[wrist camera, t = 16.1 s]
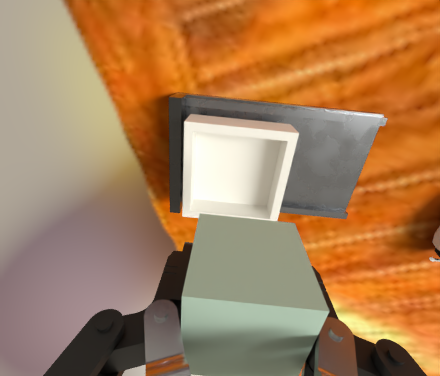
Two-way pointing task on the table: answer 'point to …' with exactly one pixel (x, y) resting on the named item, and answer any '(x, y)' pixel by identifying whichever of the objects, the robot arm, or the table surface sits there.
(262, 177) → the white square tray
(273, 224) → the block
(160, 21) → the table surface
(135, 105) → the table surface
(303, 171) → the track
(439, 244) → the robot toy
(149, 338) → the robot arm
